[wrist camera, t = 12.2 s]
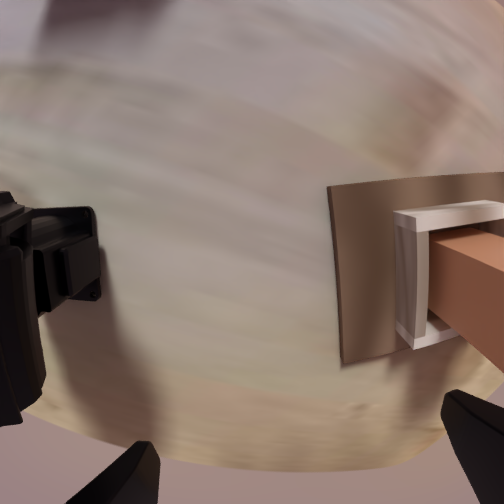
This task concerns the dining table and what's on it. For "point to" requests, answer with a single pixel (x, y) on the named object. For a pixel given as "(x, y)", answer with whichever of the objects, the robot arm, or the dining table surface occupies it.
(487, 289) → the tan box white top
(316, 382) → the dining table surface
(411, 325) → the square socket base
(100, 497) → the robot arm
